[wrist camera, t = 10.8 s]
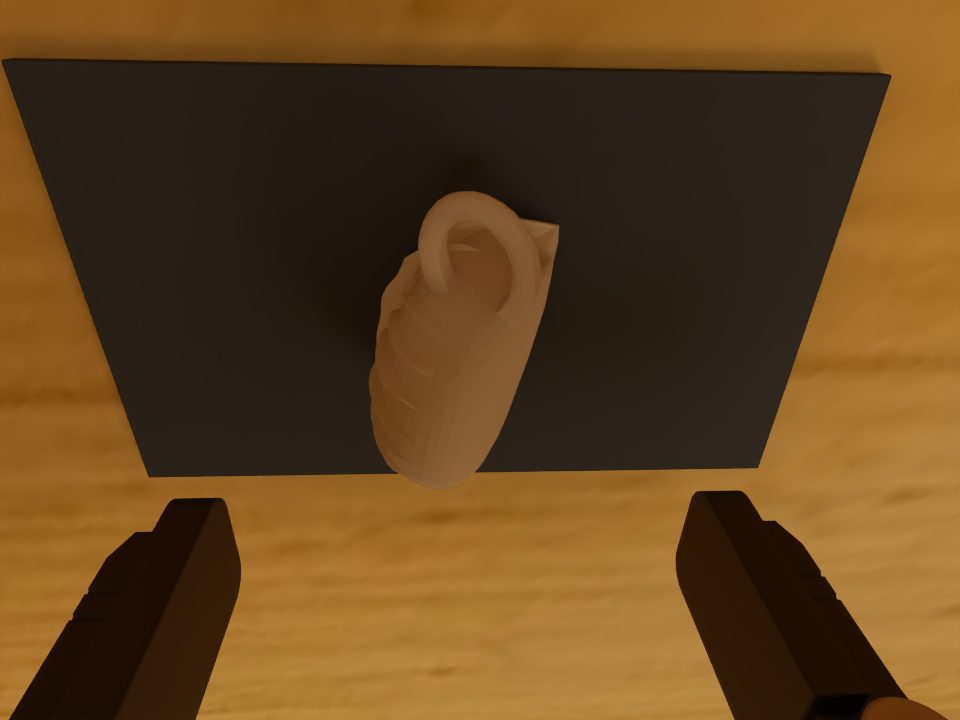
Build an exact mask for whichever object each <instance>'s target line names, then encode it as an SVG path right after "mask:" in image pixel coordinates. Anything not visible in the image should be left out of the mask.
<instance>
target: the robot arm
mask: <svg viewBox="0 0 960 720" xmlns="http://www.w3.org/2000/svg"><path fill="white" fill-rule="evenodd" d="M676 572H677V578H678V582H679V586H680V589H681V591H682V594H683V596H684V598H685V601H686V603H687V606H688V608H689V611H690V613H691V615H692V618H693V620H694V623H695V625H696V627H697V630H698V632H699V635H700V637H701V640H702V642H703V644H704V647H705V649H706V652H707V654H708V656H709V659H710V661H711V664H712V666H713V669H714V671H715V673H716V676H717V678H718V681H719V683H720V685H721V688H722V690H723V693H724V695H725V698H726V700H727V702H728V705H729V707H730V710H731V712H732V715H733V717H734V719H735V720H948V719H946V718H945V717H943V716H942V715H940V714H939V713H938V712H936V711H934V710H932V709H930V708H929V707H927V706H925V705H922V704H920V703H918V702H915V701H912V700H909V699H908V698H907V697H906V696H905V694H904V693H903V692H902V690H901V689H900V688H899V686H898V685H897V683H896V682H895V680H894V679H893V677H892V676H891V674H890V673H889V671H888V670H887V668H886V667H885V665H884V664H883V662H882V661H881V659H880V658H879V656H878V655H877V654H876V652H875V651H874V649H873V648H872V646H871V645H870V643H869V642H868V640H867V639H866V637H865V636H864V634H863V633H862V631H861V630H860V628H859V627H858V625H857V624H856V622H855V621H854V619H853V618H852V617H851V615H850V614H849V612H848V611H847V609H846V608H845V606H844V605H843V603H842V602H841V600H837V598H836V593H835V591H834V590H833V588H832V587H831V585H830V584H829V582H828V581H827V579H826V578H825V577H822V576H821V571H820V569H819V568H818V566H817V565H816V563H815V562H814V560H813V559H812V557H811V556H810V554H809V553H808V551H807V550H806V548H805V547H804V545H803V544H802V543H801V542H800V541H798V540H797V539H796V538H795V537H794V536H793V535H791V534H790V533H789V532H788V531H787V530H785V529H784V528H783V527H782V526H781V525H779V524H778V523H777V522H776V521H763V520H762V518H761V517H760V515H759V514H758V512H757V510H756V509H755V507H754V506H753V504H752V503H751V501H750V499H749V498H748V497H747V495H746V494H745V493H743V492H742V491H697V492H695V494H694V495H693V497H692V499H691V502H690V506H689V509H688V513H687V516H686V520H685V523H684V527H683V530H682V534H681V537H680V541H679V544H678V548H677V552H676ZM240 581H241V563H240V557H239V553H238V549H237V545H236V541H235V537H234V533H233V529H232V525H231V521H230V517H229V513H228V509H227V506H226V503H225V501H224V500H223V499H222V498H182V499H173V500H171V501H170V502H169V503H168V505H167V506H166V508H165V510H164V511H163V513H162V515H161V517H160V519H159V521H158V522H157V524H156V526H155V528H154V530H153V531H152V532H135V533H134V534H133V535H132V536H131V537H130V538H129V539H127V540H126V541H125V542H124V543H123V544H122V545H121V546H120V547H118V548H117V549H116V550H115V551H114V552H113V553H112V554H111V555H110V556H108V557H107V558H106V560H105V562H104V563H103V565H102V567H101V568H100V570H99V572H98V573H97V575H96V576H95V578H94V580H93V581H92V583H91V585H90V586H89V588H88V589H89V591H88V594H85V595H84V596H83V598H82V600H81V601H80V603H79V605H78V606H77V608H76V610H75V611H74V613H73V619H72V620H69V621H68V623H67V624H66V626H65V628H64V629H63V631H62V633H61V634H60V636H59V638H58V639H57V641H56V643H55V644H54V646H53V648H52V649H51V651H50V652H49V654H48V656H47V657H46V659H45V661H44V662H43V664H42V666H41V667H40V669H39V671H38V672H37V674H36V676H35V677H34V679H33V681H32V682H31V684H30V686H29V687H28V689H27V690H26V692H25V694H24V695H23V697H22V699H21V700H20V702H19V704H18V705H17V707H16V709H15V710H14V712H13V714H12V715H11V717H10V719H9V720H196V717H197V714H198V711H199V708H200V705H201V702H202V699H203V696H204V694H205V691H206V688H207V685H208V682H209V679H210V676H211V673H212V670H213V667H214V664H215V661H216V659H217V656H218V653H219V650H220V647H221V644H222V641H223V638H224V635H225V632H226V629H227V627H228V624H229V621H230V618H231V615H232V612H233V609H234V606H235V603H236V600H237V597H238V593H239V588H240Z"/></svg>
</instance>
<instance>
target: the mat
mask: <svg viewBox="0 0 960 720" xmlns="http://www.w3.org/2000/svg"><path fill="white" fill-rule="evenodd" d="M2 65H3V67H4V70H5V73H6V76H7V79H8V81H9V84H10V87H11V90H12V93H13V96H14V98H15V101H16V104H17V107H18V110H19V112H20V115H21V118H22V121H23V124H24V127H25V129H26V132H27V135H28V138H29V141H30V144H31V146H32V149H33V152H34V155H35V158H36V160H37V163H38V166H39V169H40V172H41V175H42V177H43V180H44V183H45V186H46V189H47V192H48V194H49V197H50V200H51V203H52V206H53V208H54V211H55V214H56V217H57V220H58V223H59V225H60V228H61V231H62V234H63V237H64V239H65V242H66V245H67V248H68V251H69V254H70V256H71V259H72V262H73V265H74V268H75V271H76V273H77V276H78V279H79V282H80V285H81V287H82V290H83V293H84V296H85V299H86V302H87V304H88V307H89V310H90V313H91V316H92V318H93V321H94V324H95V327H96V330H97V333H98V335H99V338H100V341H101V344H102V347H103V350H104V352H105V355H106V358H107V361H108V364H109V366H110V369H111V372H112V375H113V378H114V381H115V383H116V386H117V389H118V392H119V395H120V397H121V400H122V403H123V406H124V409H125V412H126V414H127V417H128V420H129V423H130V426H131V429H132V431H133V434H134V437H135V440H136V443H137V445H138V448H139V451H140V454H141V457H142V460H143V462H144V465H145V468H146V471H147V474H148V476H149V477H202V476H268V475H334V474H399V473H397V472H395V471H393V470H392V469H391V468H390V467H389V465H388V464H387V463H386V461H385V459H384V457H383V456H382V454H381V452H380V450H379V448H378V446H377V443H376V440H375V436H374V433H373V423H372V420H371V400H372V399H371V396H370V390H369V377H370V372H371V369H372V367H373V365H374V363H375V350H376V346H377V344H376V338H377V329H378V325H379V321H380V317H381V298H382V296H383V294H384V291H385V289H386V287H387V286H388V285H389V284H390V282H391V281H392V280H393V279H394V278H395V277H396V276H397V275H398V272H399V270H400V268H401V266H402V263H403V261H404V259H405V257H407V256H409V255H411V254H412V253H414V252H416V251H417V250H418V241H419V233H420V230H421V227H422V224H423V221H424V219H425V217H426V215H427V213H428V212H429V211H430V209H431V208H432V207H433V206H434V204H435V203H436V202H437V201H438V200H440V199H441V198H443V197H445V196H446V195H448V194H451V193H455V192H461V191H475V192H479V193H483V194H487V195H489V196H491V197H493V198H495V199H497V200H499V201H501V202H503V203H504V204H505V205H506V206H508V207H509V208H510V209H511V210H512V211H514V212H515V213H516V215H517V216H518V217H519V218H522V219H529V220H535V221H542V222H548V223H553V224H558V225H559V236H558V245H557V249H556V253H555V257H554V263H553V269H552V275H551V280H550V285H549V289H548V294H547V299H546V304H545V308H544V311H543V314H542V317H541V320H540V323H539V326H538V329H537V333H536V336H535V339H534V342H533V345H532V348H531V351H530V354H529V357H528V360H527V363H526V365H525V368H524V371H523V374H522V376H521V379H520V382H519V384H518V387H517V390H516V393H515V395H514V398H513V401H512V403H511V406H510V409H509V412H508V414H507V417H506V419H505V421H504V424H503V426H502V428H501V431H500V433H499V435H498V437H497V439H496V441H495V442H494V444H493V446H492V448H491V449H490V451H489V453H488V455H487V456H486V458H485V460H484V461H483V463H482V464H481V465H480V467H479V468H478V469H477V470H476V471H475V472H533V471H599V470H666V469H732V468H758V467H759V464H760V461H761V458H762V455H763V452H764V449H765V446H766V443H767V440H768V437H769V434H770V431H771V428H772V425H773V423H774V420H775V417H776V414H777V411H778V408H779V405H780V402H781V399H782V396H783V393H784V390H785V387H786V384H787V382H788V379H789V376H790V373H791V370H792V367H793V364H794V361H795V358H796V355H797V352H798V349H799V346H800V343H801V340H802V338H803V335H804V332H805V329H806V326H807V323H808V320H809V317H810V314H811V311H812V308H813V305H814V302H815V299H816V297H817V294H818V291H819V288H820V285H821V282H822V279H823V276H824V273H825V270H826V267H827V264H828V261H829V258H830V255H831V253H832V250H833V247H834V244H835V241H836V238H837V235H838V232H839V229H840V226H841V223H842V220H843V217H844V214H845V212H846V209H847V206H848V203H849V200H850V197H851V194H852V191H853V188H854V185H855V182H856V179H857V176H858V173H859V171H860V168H861V165H862V162H863V159H864V156H865V153H866V150H867V147H868V144H869V141H870V138H871V135H872V132H873V129H874V127H875V124H876V121H877V118H878V115H879V112H880V109H881V106H882V103H883V100H884V97H885V94H886V91H887V88H888V86H889V83H890V80H891V75H889V74H883V73H834V72H777V71H719V70H662V69H604V68H547V67H489V66H432V65H374V64H317V63H259V62H202V61H144V60H87V59H29V58H10V59H3V60H2Z"/></svg>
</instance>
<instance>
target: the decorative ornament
mask: <svg viewBox="0 0 960 720" xmlns="http://www.w3.org/2000/svg"><path fill="white" fill-rule="evenodd" d="M558 236H559V225H558V224H553V223H548V222H542V221H535V220H529V219H522V218H519V217H518V216H517V215H516V213H515V212H514V211H512V210H511V209H510V208H509V207H508V206H506V205H505V204H504V203H503V202H501V201H499V200H497V199H495V198H493V197H491V196H489V195H487V194H483V193H479V192H475V191H461V192H455V193H451V194H448V195H446V196H445V197H443V198H441V199H440V200H438V201H437V202H436V203H435V204H434V206H433V207H432V208H431V209H430V211H429V212H428V213H427V215H426V217H425V219H424V221H423V224H422V227H421V230H420V233H419V241H418V250H417V251H416V252H414V253H412V254H411V255H409V256H407V257H405V259H404V261H403V263H402V266H401V268H400V270H399V272H398V275H397V276H396V277H395V278H394V279H393V280H392V281H391V282H390V284H389V285H388V286H387V287H386V289H385V291H384V294H383V296H382V298H381V317H380V321H379V325H378V329H377V338H376V344H377V346H376V350H375V363H374V365H373V367H372V369H371V372H370V377H369V390H370V396H371V399H372V400H371V420H372V423H373V433H374V436H375V440H376V443H377V446H378V448H379V450H380V452H381V454H382V456H383V457H384V459H385V461H386V463H387V464H388V465H389V467H390V468H391V469H392V470H393V471H395V472H397V473H399V474H401V475H403V476H405V477H407V478H408V479H409V480H411V481H413V482H415V483H417V484H419V485H421V486H423V487H426V488H430V489H436V490H440V489H448V488H451V487H455V486H457V485H459V484H460V483H462V482H464V481H466V480H467V479H468V478H469V477H470V476H471V475H472V474H473V473H474V472H475V471H476V470H477V469H478V468H479V467H480V465H481V464H482V463H483V461H484V460H485V458H486V456H487V455H488V453H489V451H490V449H491V448H492V446H493V444H494V442H495V441H496V439H497V437H498V435H499V433H500V431H501V428H502V426H503V424H504V421H505V419H506V417H507V414H508V412H509V409H510V406H511V403H512V401H513V398H514V395H515V393H516V390H517V387H518V384H519V382H520V379H521V376H522V374H523V371H524V368H525V365H526V363H527V360H528V357H529V354H530V351H531V348H532V345H533V342H534V339H535V336H536V333H537V329H538V326H539V323H540V320H541V317H542V314H543V311H544V308H545V304H546V299H547V294H548V289H549V285H550V280H551V275H552V269H553V263H554V257H555V253H556V249H557V245H558Z"/></svg>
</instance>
